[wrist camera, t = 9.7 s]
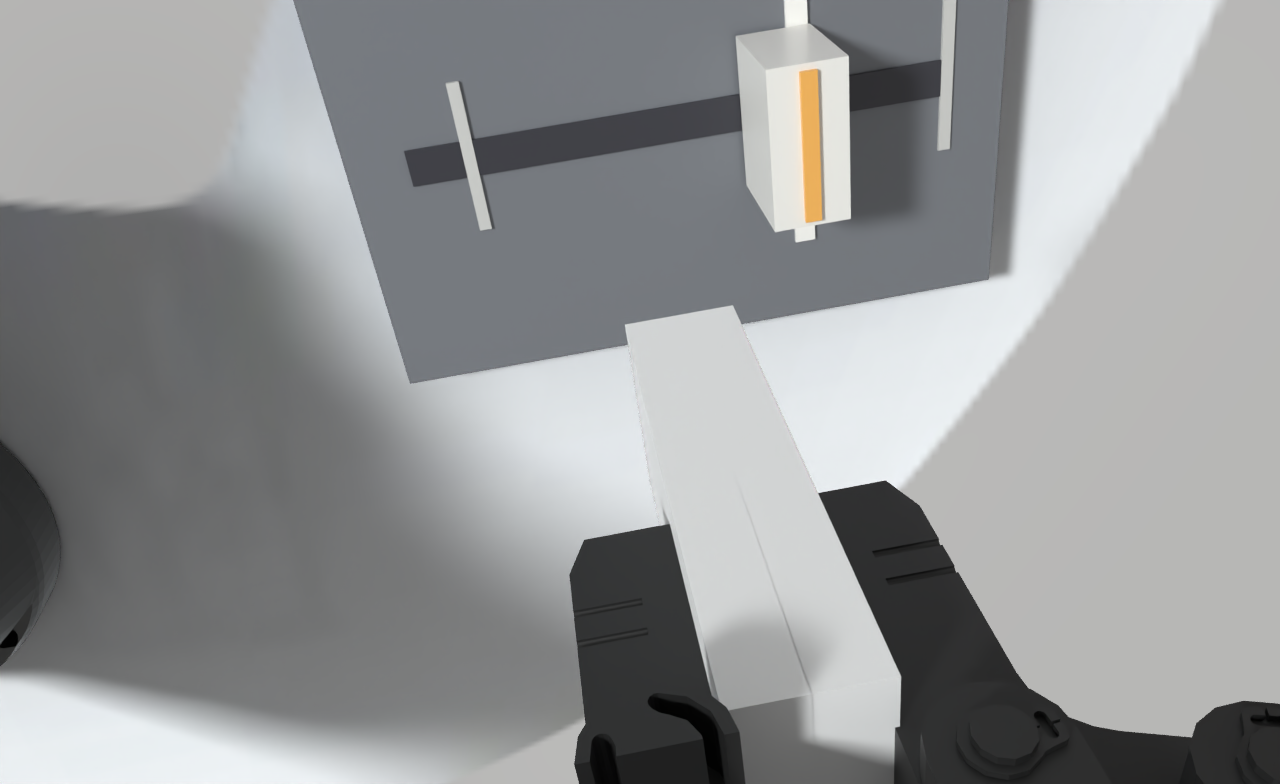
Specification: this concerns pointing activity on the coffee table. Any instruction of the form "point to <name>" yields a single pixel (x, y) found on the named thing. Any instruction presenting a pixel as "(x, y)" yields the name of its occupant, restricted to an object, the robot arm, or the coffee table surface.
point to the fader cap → (795, 125)
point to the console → (641, 164)
